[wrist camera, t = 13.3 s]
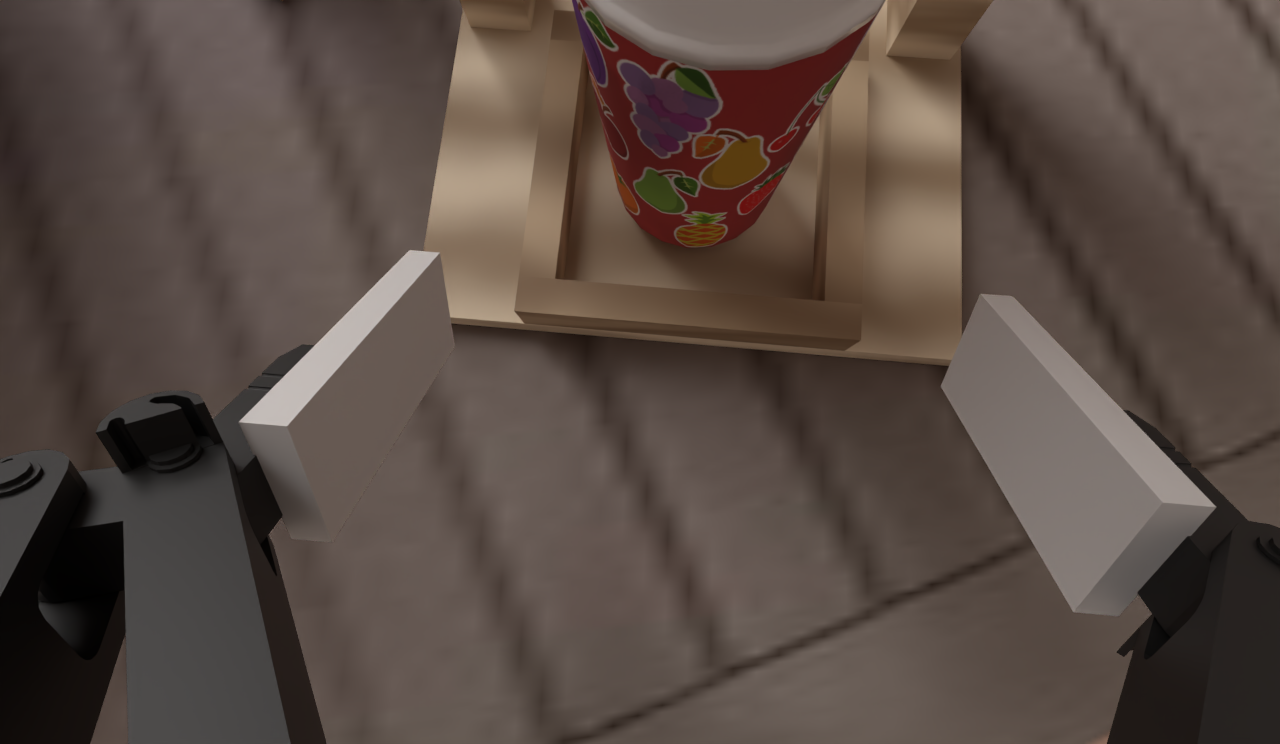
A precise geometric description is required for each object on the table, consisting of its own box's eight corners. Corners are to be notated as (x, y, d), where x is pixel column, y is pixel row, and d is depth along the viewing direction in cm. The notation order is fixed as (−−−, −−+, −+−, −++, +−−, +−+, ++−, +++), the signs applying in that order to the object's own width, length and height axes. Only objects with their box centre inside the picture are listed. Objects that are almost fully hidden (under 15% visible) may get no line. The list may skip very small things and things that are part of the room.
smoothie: (804, 132, 27) (1212, -785, 7) (757, 298, 26) (1107, -282, 6) (631, 87, 28) (584, -874, 8) (577, 247, 26) (359, -434, 7)
